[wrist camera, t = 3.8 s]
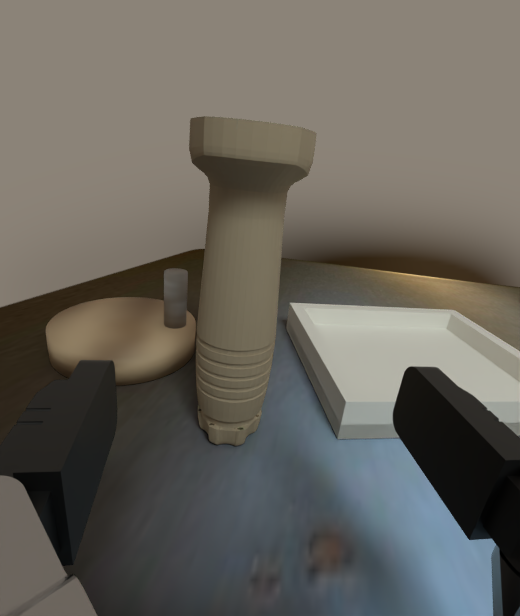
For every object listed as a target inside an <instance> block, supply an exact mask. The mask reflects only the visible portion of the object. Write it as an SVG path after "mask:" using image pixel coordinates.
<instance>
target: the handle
mask: <svg viewBox="0 0 520 616" xmlns="http://www.w3.org/2000/svg"><path fill="white" fill-rule="evenodd" d="M315 141H316V133H315V132H313V131H310V130H308V129H305V128H301V127H296V126H290V125H283V124H276V123H269V122H260V121H252V120H242V119H233V118H222V117H197V118H191V120H190V143H189V150H190V154H191V159H192V163H193V164H194V165H195V166H196V167H197V168H198V169H200V170H201V171H202V172H204V173H205V175H206V176H207V177H208V180H209V183H210V195H209V215H208V224H207V234H206V244H205V254H204V265H203V274H202V283H201V293H200V302H199V311H198V321H197V330H196V331H197V334H196V385H197V396H198V403H199V405H198V420H199V425H200V427H201V428H202V429H204V430H205V431H206V432H207V433H208V435H209V441H210V442H212V443H214V444H216V445H218V444H232V445H234V446H238V445H241V444H243V443H244V442H245V439H246V437H247V436H248V435H249V434H251V433H254V432H255V431H256V430H257V427H258V425H259V421H260V417H261V412H262V411H261V407H262V404H263V401H264V398H265V394H266V390H267V385H268V381H269V374H270V370H271V365H272V359H273V351H274V345H275V338H276V324H277V309H278V294H279V279H280V265H281V251H282V238H283V225H284V214H285V207H286V198H287V192H288V190H289V188H290V186H291V185H293V184H294V183H295V182H297V181H299V180H301V179H303V178H304V177H306V176H308V174H309V171H310V168H311V165H312V163H313V156H314V150H315Z"/></svg>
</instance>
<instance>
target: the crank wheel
mask: <svg viewBox="0 0 520 616" xmlns="http://www.w3.org/2000/svg"><path fill="white" fill-rule="evenodd" d="M187 280H188V272H187V271H186V270H183V269H167V270H165V271H164V301H162V300H157V299H150V298H139V297H119V298H107V299H100V300H94V301H90V302H85V303H82V304H78V305H76V306H73V307H70V308H68V309H66V310H64V311H62V312H60V313H58V314H57V315H56V316H54V317H53V318H52V319H51V320H50V321H49V323H48V324H47V327H46V338H47V346H48V353H49V360H50V363H51V365H52V367H53V368H54V369H55V370H56V371H57V372H58V373H60V374H61V375H63V376H65V377H67V378H70V376H71V374H72V373H73V371H74V369H75V368H76V366H77V364H78V363H79V361H80V360H112V361H113V362H114V365H115V379H116V386H120V385H131V384H138V383H144V382H148V381H152V380H156V379H159V378H162V377H164V376H167V375H169V374H171V373H173V372H175V371H177V370H179V369H180V368H181V367H183V366H184V365H185V364H186V363H187V362H188V361H189V360H190V359H191V358H192V356H193V354H194V350H195V332H196V322H195V319H194V317H193V316H192V314H191V313H190V312H188V311H187Z"/></svg>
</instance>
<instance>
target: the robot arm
mask: <svg viewBox="0 0 520 616" xmlns="http://www.w3.org/2000/svg"><path fill="white" fill-rule="evenodd" d="M116 424H117V398H116V379H115V365H114V362H113V361H112V360H80V361H79V363H78V364H77V366H76V368H75V369H74V371H73V373H72V374H71V376H70V378H69V379H68V380H54V381H53V382H51V383H50V384H49V385H47V386H46V387H44V388H43V389H41V390H40V391H39V392H37V393H36V395H35V396H34V398H33V399H32V400H31V402H30V403H29V405H28V406H27V408H26V411H24V412H23V413H22V415H21V416H20V418H19V419H18V421H17V424H16V425H14V426H13V428H12V429H11V431H10V432H9V434H8V435H7V436H6V438H5V439H4V441H3V442H2V444H1V445H0V616H97V614H96V612H95V610H94V608H93V606H92V604H91V602H90V600H89V598H88V596H87V594H86V592H85V590H84V588H83V587H82V585H81V583H80V581H79V580H78V579H77V577H76V576H75V575H73V574H71V575H70V576H68V575H67V574H66V572H65V571H64V569H63V567H62V566H65V565H73V564H74V561H75V558H76V554H77V551H78V548H79V545H80V542H81V539H82V536H83V532H84V529H85V526H86V523H87V520H88V517H89V514H90V511H91V507H92V504H93V501H94V498H95V495H96V492H97V489H98V485H99V482H100V479H101V476H102V473H103V470H104V467H105V463H106V460H107V457H108V454H109V451H110V448H111V445H112V441H113V438H114V435H115V430H116ZM393 425H394V428H395V431H396V433H397V434H398V436H399V437H400V439H401V440H402V442H403V443H404V445H405V446H406V448H407V449H408V451H409V452H410V454H411V455H412V457H413V458H414V459H415V461H416V462H417V464H418V465H419V467H420V468H421V470H422V471H423V473H424V474H425V476H426V477H427V479H428V480H429V482H430V483H431V484H432V486H433V487H434V489H435V490H436V492H437V493H438V495H439V496H440V498H441V499H442V501H443V502H444V504H445V505H446V507H447V508H448V510H449V511H450V512H451V514H452V515H453V517H454V518H455V520H456V521H457V523H458V524H459V526H460V527H461V529H462V530H463V532H464V533H465V535H466V536H467V538H468V539H469V540H475V539H490V538H492V539H493V541H494V542H495V543H496V546H495V548H494V550H493V552H492V557H491V561H492V592H493V616H520V438H519V437H518V436H517V435H516V434H515V433H514V432H513V431H512V430H511V429H510V428H509V427H507V426H506V425H505V424H504V423H503V422H499V418H498V417H496V416H495V415H494V414H493V413H492V412H491V411H488V410H487V407H485V406H484V405H483V404H482V403H481V402H480V401H479V400H478V399H477V398H476V397H474V396H473V395H472V394H470V393H468V392H467V391H465V390H463V389H462V388H460V387H458V386H457V385H456V384H455V383H454V382H453V381H452V380H451V379H450V378H449V377H448V376H447V375H446V374H444V373H443V372H442V371H441V370H440V369H439V368H437V367H418V366H411V367H408V368H407V369H406V370H405V372H404V375H403V378H402V382H401V385H400V388H399V392H398V395H397V399H396V402H395V406H394V409H393Z"/></svg>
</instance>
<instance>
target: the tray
mask: <svg viewBox="0 0 520 616" xmlns="http://www.w3.org/2000/svg"><path fill="white" fill-rule="evenodd" d="M286 329H287V332H288V334H289V336H290V338H291V340H292V342H293V344H294V347H295V349H296V351H297V353H298V355H299V357H300V359H301V362H302V364H303V366H304V368H305V370H306V372H307V375H308V377H309V379H310V381H311V383H312V385H313V387H314V390H315V392H316V394H317V396H318V398H319V400H320V402H321V405H322V407H323V409H324V411H325V413H326V415H327V418H328V420H329V422H330V424H331V426H332V428H333V430H334V433H335V435H336V437H337V439H373V438H400V437H399V436H398V434H397V433H396V431H395V428H394V425H393V409H394V406H395V402H396V399H397V395H398V392H399V388H400V385H401V382H402V378H403V375H404V372H405V370H406V369H407V368H408V367H411V366H418V367H437V368H439V369H440V370H441V371H442V372H443V373H444V374H446V375H447V376H448V377H449V378H450V379H451V380H452V381H453V382H454V383H455V384H456V385H457V386H458V387H460V388H462V389H463V390H465V391H467V392H468V393H470V394H472V395H473V396H474V397H476V398H477V399H478V400H479V401H480V402H481V403H482V404H483V405H484V406H485V407H487V410H488V411H491V412H492V413H493V414H494V415H495V416H496V417H498V418H499V422H503V423H504V424H505V425H506V426H507V427H509V428H510V429H511V430H512V431H513V432H514V433H515V434H516V435H517V436H520V351H518V350H517V349H515V348H513V347H512V346H510V345H509V344H507V343H505V342H504V341H502V340H501V339H499V338H498V337H496V336H494V335H493V334H491V333H490V332H488V331H487V330H485V329H483V328H482V327H480V326H479V325H477V324H475V323H474V322H472V321H471V320H469V319H468V318H466V317H464V316H463V315H461V314H460V313H458V312H457V311H455V310H441V309H418V308H395V307H373V306H350V305H327V304H304V303H290V305H289V312H288V319H287V326H286Z"/></svg>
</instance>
